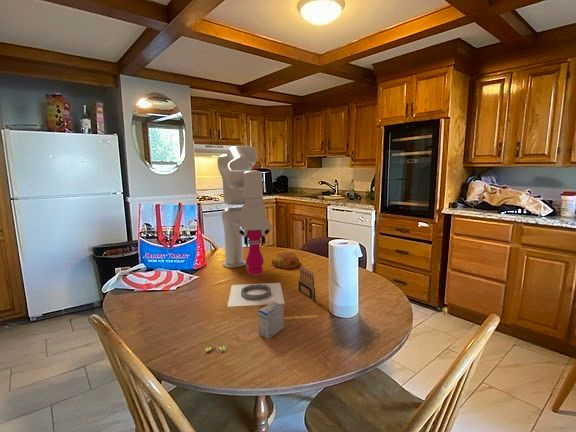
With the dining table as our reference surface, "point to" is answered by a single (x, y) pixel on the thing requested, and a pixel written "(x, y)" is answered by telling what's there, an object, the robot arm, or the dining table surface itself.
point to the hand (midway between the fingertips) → (254, 245)
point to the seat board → (238, 300)
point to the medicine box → (271, 319)
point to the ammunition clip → (306, 283)
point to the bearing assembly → (221, 349)
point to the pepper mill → (254, 253)
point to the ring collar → (256, 297)
